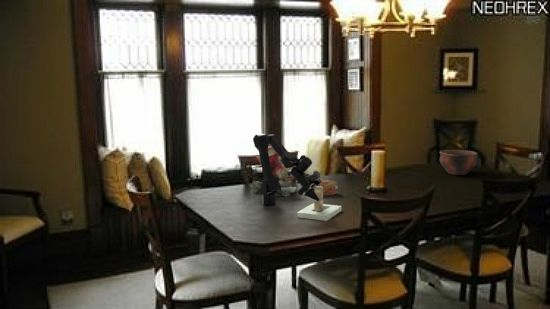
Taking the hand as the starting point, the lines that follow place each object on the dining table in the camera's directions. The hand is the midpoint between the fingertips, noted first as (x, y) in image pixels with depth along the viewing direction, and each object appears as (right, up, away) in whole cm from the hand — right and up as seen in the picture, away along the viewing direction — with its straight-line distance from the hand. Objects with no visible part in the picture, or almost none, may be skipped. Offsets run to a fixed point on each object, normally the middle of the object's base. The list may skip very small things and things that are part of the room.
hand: (320, 199), depth 269 cm
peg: (-1, -7, +2) cm, 8 cm away
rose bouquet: (-22, 0, +55) cm, 60 cm away
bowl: (+102, +10, +93) cm, 138 cm away
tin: (+7, -1, +44) cm, 45 cm away
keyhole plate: (0, -8, +3) cm, 8 cm away
